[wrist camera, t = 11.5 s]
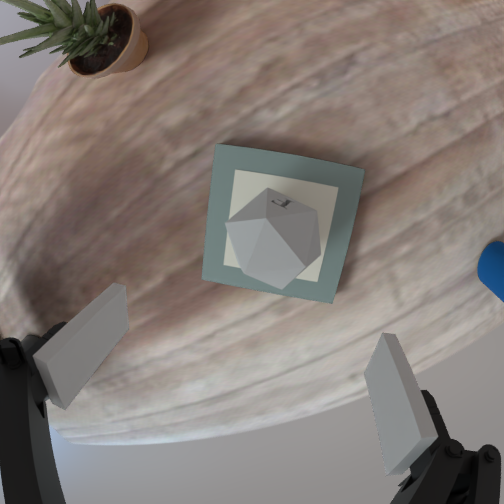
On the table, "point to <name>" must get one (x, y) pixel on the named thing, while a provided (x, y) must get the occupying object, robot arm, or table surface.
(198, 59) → the table surface
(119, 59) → the potted plant
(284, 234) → the die
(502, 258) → the beverage can
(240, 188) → the base board
